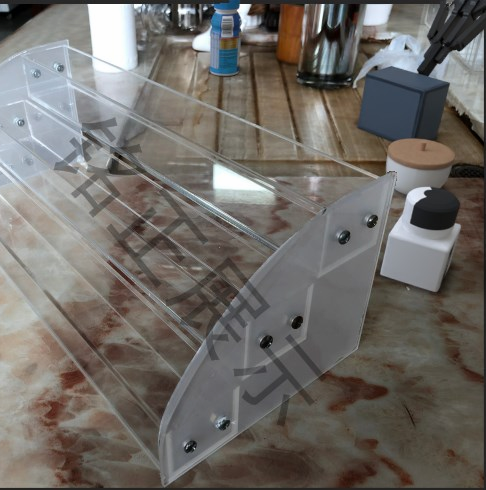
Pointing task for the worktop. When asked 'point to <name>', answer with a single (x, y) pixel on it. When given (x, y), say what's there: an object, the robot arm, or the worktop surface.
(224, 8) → the beverage bottle
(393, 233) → the container
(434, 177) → the trinket box
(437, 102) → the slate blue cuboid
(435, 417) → the worktop surface
